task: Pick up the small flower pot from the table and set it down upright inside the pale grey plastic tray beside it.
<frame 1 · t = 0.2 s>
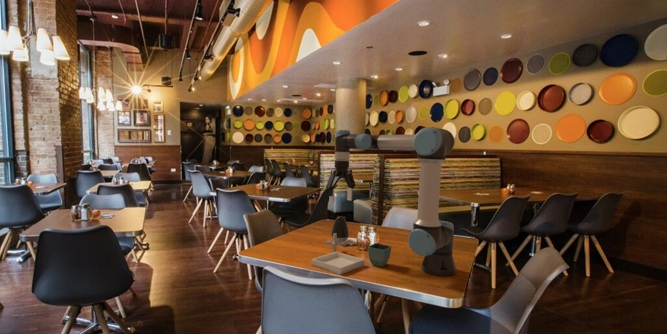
hand: (340, 201, 187), 27 cm above the table, tool pointing down, fingers open, 13 cm apart
egg in egg cup: (339, 242, 214), on the table
pipe connector: (334, 252, 191), on the table
flower pot: (379, 265, 173), on the table
tray: (338, 265, 170), on the table
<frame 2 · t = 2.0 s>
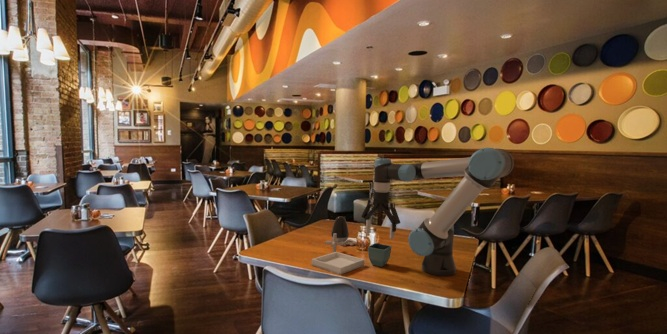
hand: (379, 235, 173), 14 cm above the table, tool pointing down, fingers open, 13 cm apart
nothing on the table moved.
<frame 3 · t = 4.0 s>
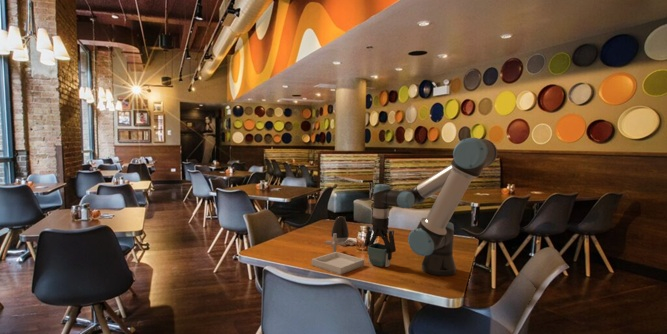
hand: (379, 263, 173), 0 cm above the table, tool pointing down, fingers closed on flower pot, 9 cm apart
flower pot: (379, 265, 173), on the table, touching gripper
everything else where it was.
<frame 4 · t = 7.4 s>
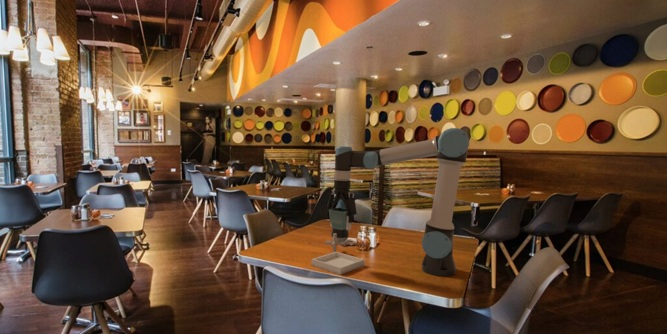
hand: (340, 227, 170), 18 cm above the table, tool pointing down, fingers closed on flower pot, 9 cm apart
flower pot: (340, 229, 170), point 17 cm above the table, touching gripper
everything else where it was.
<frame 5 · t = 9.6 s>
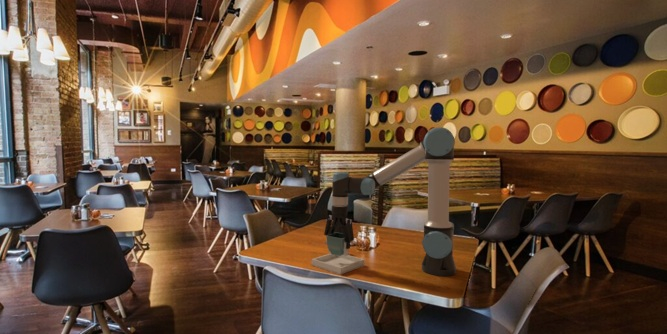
hand: (338, 253, 170), 6 cm above the table, tool pointing down, fingers closed on flower pot, 9 cm apart
flower pot: (338, 254, 170), point 5 cm above the table, touching gripper
everything else where it was.
when the fingers open (3 cm above the table, at t = 11.1 s): flower pot drops 2 cm, resting on tray.
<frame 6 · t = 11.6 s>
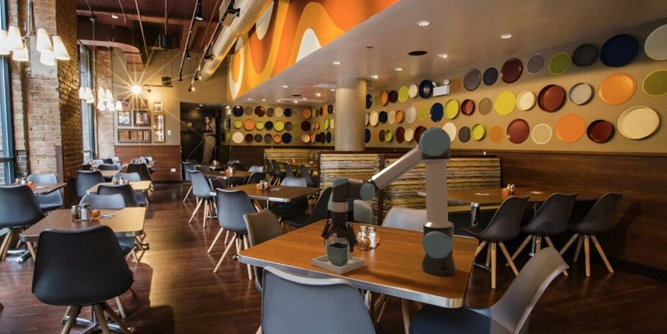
hand: (338, 255, 170), 5 cm above the table, tool pointing down, fingers open, 13 cm apart
flower pot: (338, 264, 170), point 1 cm above the table, touching tray
everything else where it was.
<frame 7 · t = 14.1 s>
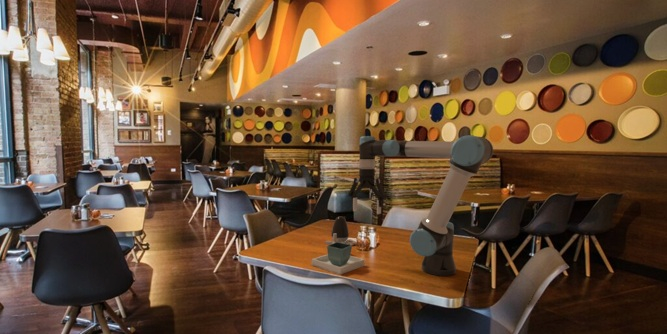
hand: (366, 212, 175), 24 cm above the table, tool pointing down, fingers open, 13 cm apart
nothing on the table moved.
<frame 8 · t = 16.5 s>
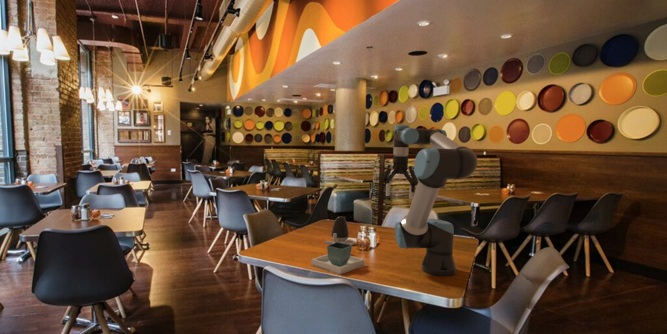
hand: (399, 197, 186), 31 cm above the table, tool pointing down, fingers open, 13 cm apart
nothing on the table moved.
at the end: flower pot inside the target area on the tray (0.7 cm from its centre), point 0.6 cm above the tray's base; flower pot tilted 0°; the gripper is holding nothing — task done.
